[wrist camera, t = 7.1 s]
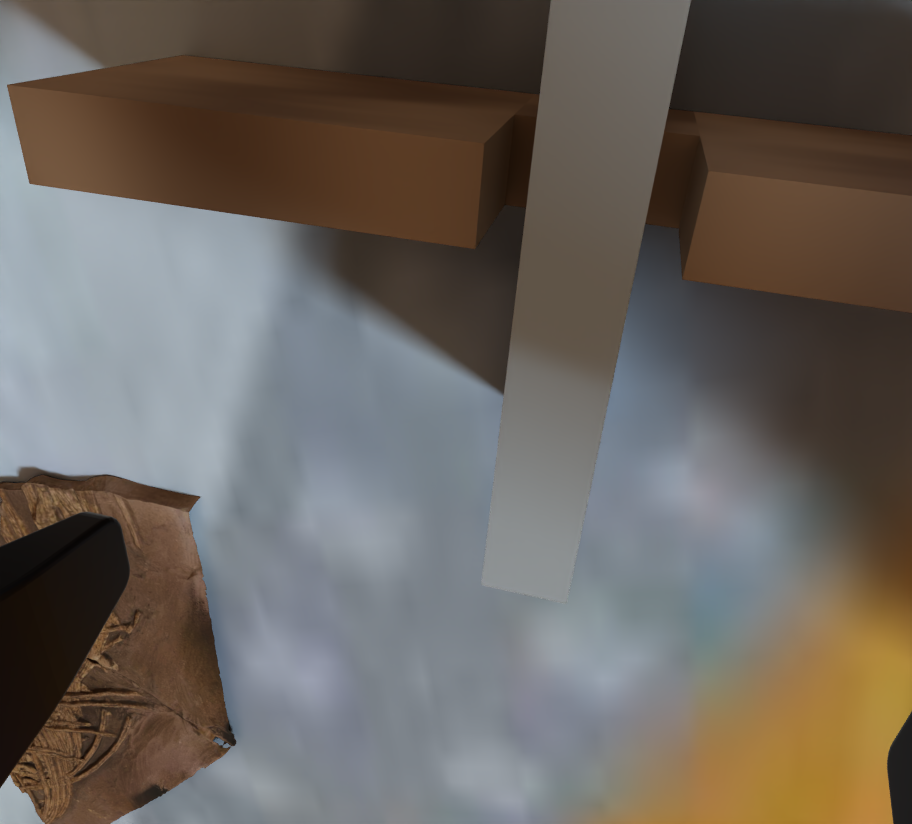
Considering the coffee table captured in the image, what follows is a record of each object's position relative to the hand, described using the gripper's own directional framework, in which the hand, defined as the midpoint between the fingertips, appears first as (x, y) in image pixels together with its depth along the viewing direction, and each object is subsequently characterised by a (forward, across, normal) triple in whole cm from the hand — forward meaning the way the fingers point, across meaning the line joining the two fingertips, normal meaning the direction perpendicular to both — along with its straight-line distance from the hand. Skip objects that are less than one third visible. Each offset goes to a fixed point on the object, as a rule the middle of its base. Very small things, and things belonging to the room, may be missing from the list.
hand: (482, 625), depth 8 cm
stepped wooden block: (+10, 0, -3) cm, 10 cm away
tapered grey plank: (+10, 0, -3) cm, 10 cm away
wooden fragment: (+10, +16, +20) cm, 27 cm away
